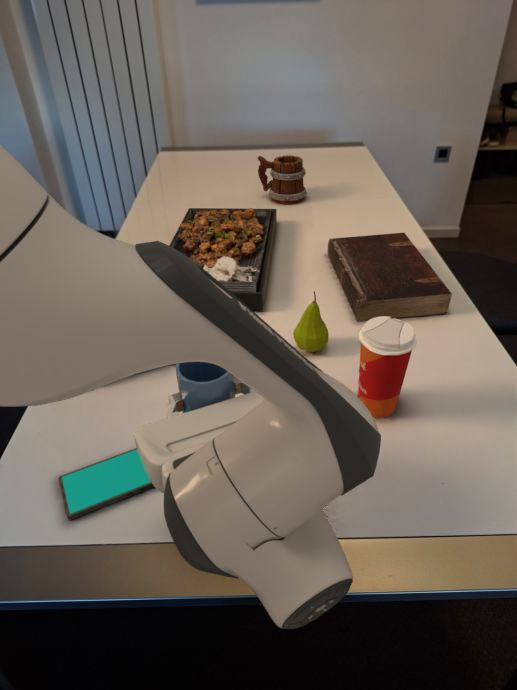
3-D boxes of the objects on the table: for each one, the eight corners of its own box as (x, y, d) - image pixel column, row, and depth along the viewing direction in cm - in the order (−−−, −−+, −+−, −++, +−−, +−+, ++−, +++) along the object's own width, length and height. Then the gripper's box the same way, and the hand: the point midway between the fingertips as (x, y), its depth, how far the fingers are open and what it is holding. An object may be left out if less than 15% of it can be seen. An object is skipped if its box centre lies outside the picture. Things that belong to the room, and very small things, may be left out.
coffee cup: (364, 381, 85) (374, 308, 76) (410, 400, 81) (426, 325, 72) (341, 410, 80) (349, 335, 71) (389, 431, 76) (404, 354, 67)
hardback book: (327, 256, 123) (328, 237, 120) (401, 251, 124) (404, 232, 121) (355, 321, 100) (358, 300, 97) (446, 314, 101) (451, 293, 98)
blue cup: (195, 450, 62) (186, 390, 56) (178, 415, 67) (168, 357, 61) (245, 432, 64) (241, 373, 58) (225, 399, 69) (220, 342, 63)
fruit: (300, 361, 90) (301, 305, 83) (289, 342, 95) (290, 287, 88) (333, 354, 91) (337, 299, 84) (320, 336, 96) (324, 282, 89)
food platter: (262, 311, 103) (261, 268, 97) (148, 308, 105) (139, 265, 99) (276, 223, 139) (276, 187, 133) (190, 222, 141) (186, 187, 135)
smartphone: (57, 476, 69) (160, 439, 74) (59, 480, 70) (161, 442, 75) (66, 517, 64) (176, 474, 69) (68, 521, 65) (177, 478, 70)
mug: (310, 204, 149) (302, 154, 140) (263, 212, 151) (253, 163, 143) (309, 190, 158) (302, 142, 150) (265, 198, 161) (256, 151, 152)
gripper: (334, 417, 54) (279, 347, 64) (148, 481, 47) (120, 392, 57) (330, 456, 57) (279, 384, 68) (158, 520, 51) (130, 430, 61)
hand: (205, 388), depth 62 cm, fingers closed on blue cup, 7 cm apart
